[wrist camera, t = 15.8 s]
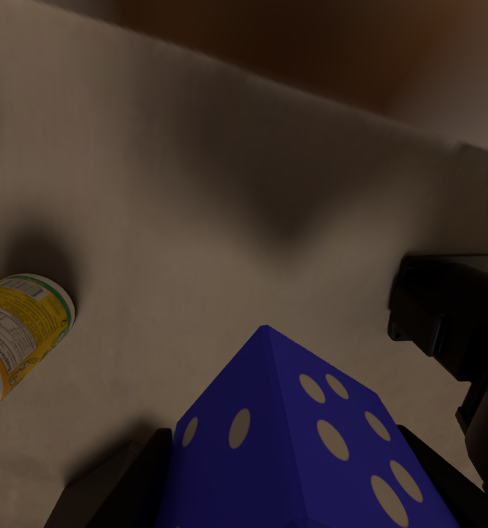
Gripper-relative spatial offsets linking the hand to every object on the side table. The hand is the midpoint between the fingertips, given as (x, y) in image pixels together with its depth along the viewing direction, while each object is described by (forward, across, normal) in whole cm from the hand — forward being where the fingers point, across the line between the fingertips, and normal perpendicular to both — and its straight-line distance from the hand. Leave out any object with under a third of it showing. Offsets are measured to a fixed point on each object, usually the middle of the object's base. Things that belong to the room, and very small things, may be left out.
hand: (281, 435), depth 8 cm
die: (+1, 0, 0) cm, 1 cm away
